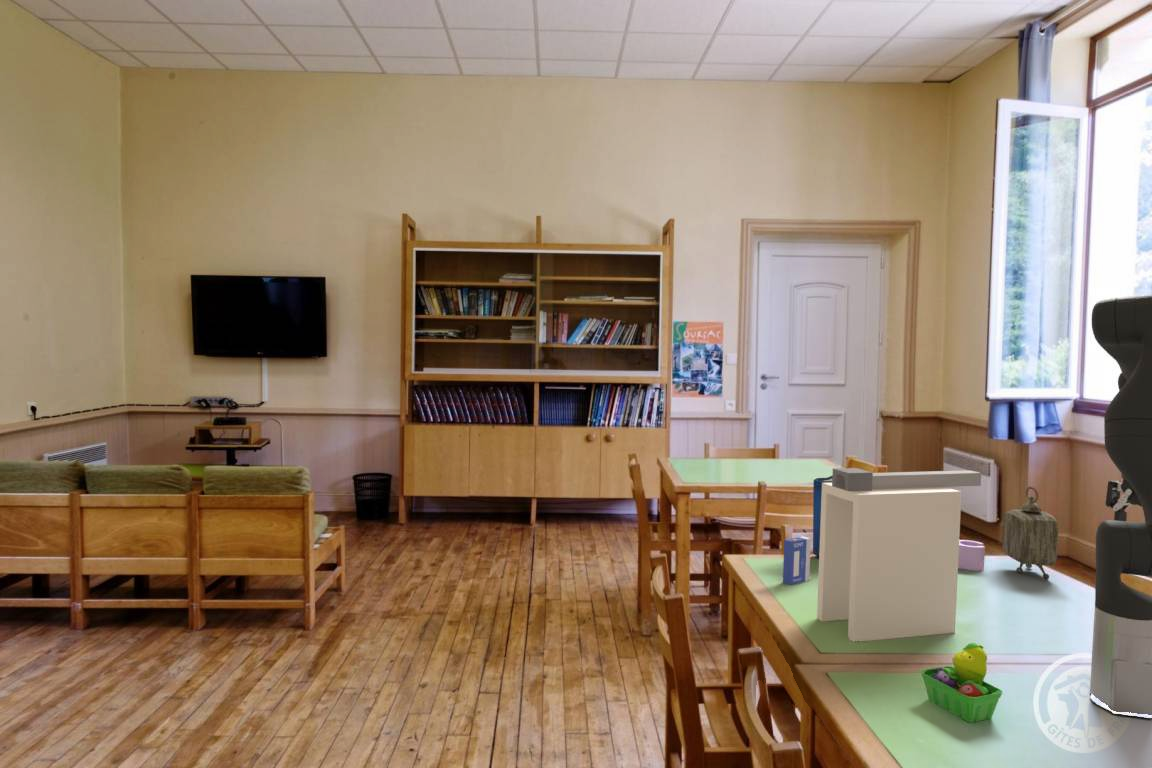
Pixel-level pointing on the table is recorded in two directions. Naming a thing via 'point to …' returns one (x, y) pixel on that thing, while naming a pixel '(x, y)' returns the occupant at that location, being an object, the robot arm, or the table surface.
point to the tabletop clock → (1030, 535)
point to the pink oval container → (971, 555)
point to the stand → (889, 561)
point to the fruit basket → (963, 685)
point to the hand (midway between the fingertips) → (1139, 533)
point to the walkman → (796, 560)
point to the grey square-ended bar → (901, 479)
